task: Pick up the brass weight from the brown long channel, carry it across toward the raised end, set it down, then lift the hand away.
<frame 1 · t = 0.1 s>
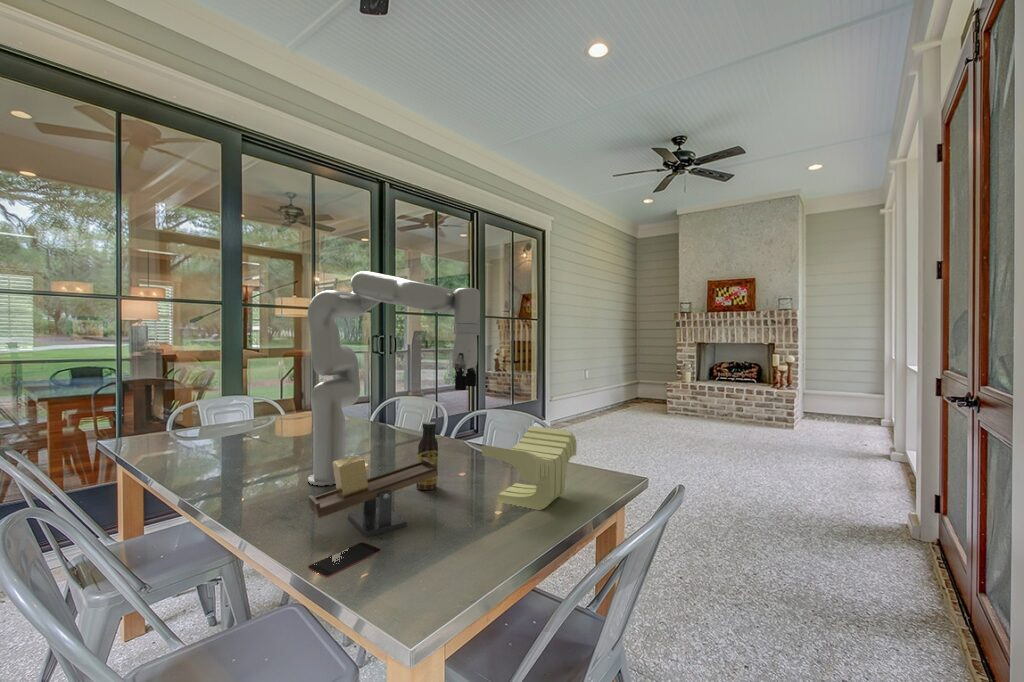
hand: (465, 388, 136), 31 cm above the table, tool pointing down, fingers open, 9 cm apart
brass weight: (352, 492, 111), point 9 cm above the table, tilted 8°, touching brown long channel
slatted curved stool: (531, 500, 132), on the table
brown long channel: (376, 485, 114), point 9 cm above the table, hinge at 8.4°, touching brass weight
smartphone: (346, 561, 96), on the table
sauce bottle: (426, 488, 141), on the table
beam stand: (376, 522, 115), on the table
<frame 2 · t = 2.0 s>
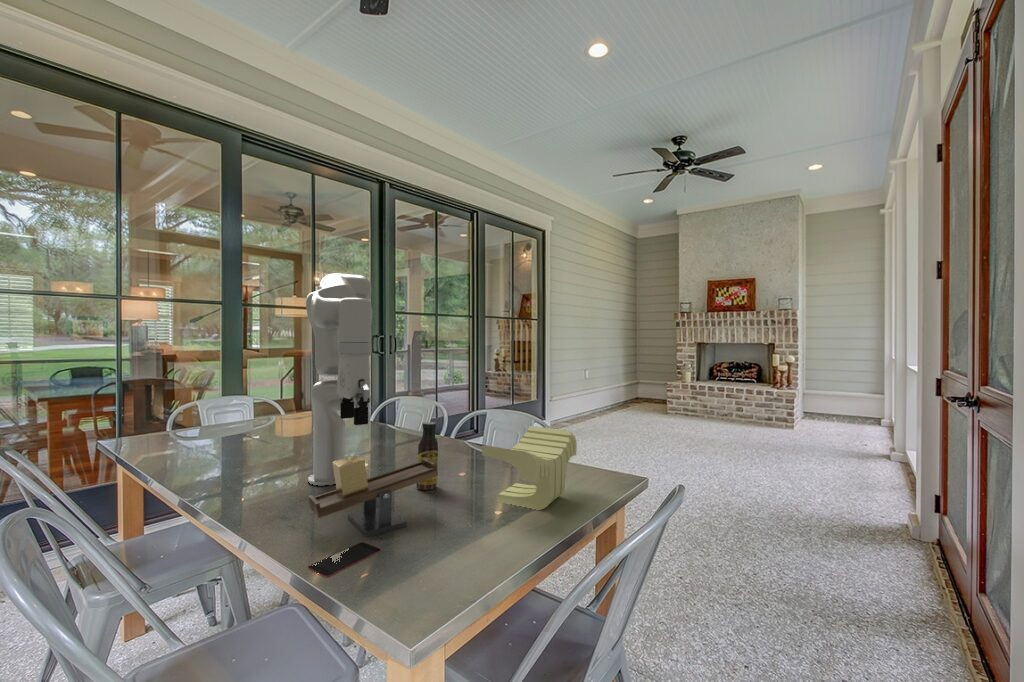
hand: (353, 421, 111), 26 cm above the table, tool pointing down, fingers open, 9 cm apart
nothing on the table moved.
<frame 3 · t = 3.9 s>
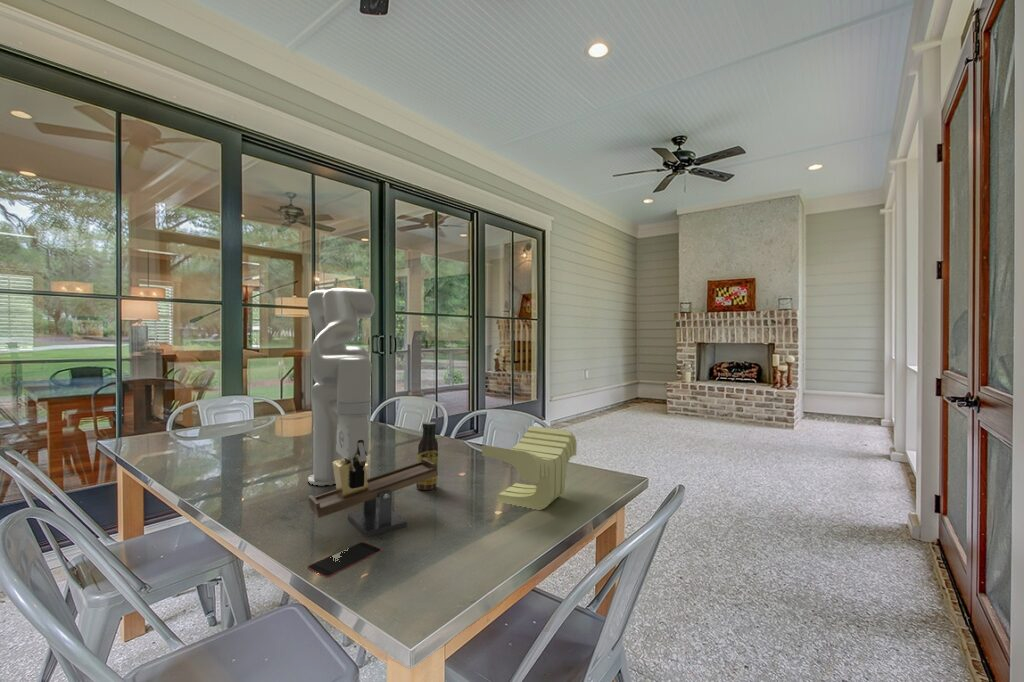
hand: (352, 483, 111), 11 cm above the table, tool pointing down, fingers closed on brass weight, 5 cm apart
brass weight: (352, 492, 111), point 9 cm above the table, tilted 8°, touching brown long channel, gripper
everything else where it was.
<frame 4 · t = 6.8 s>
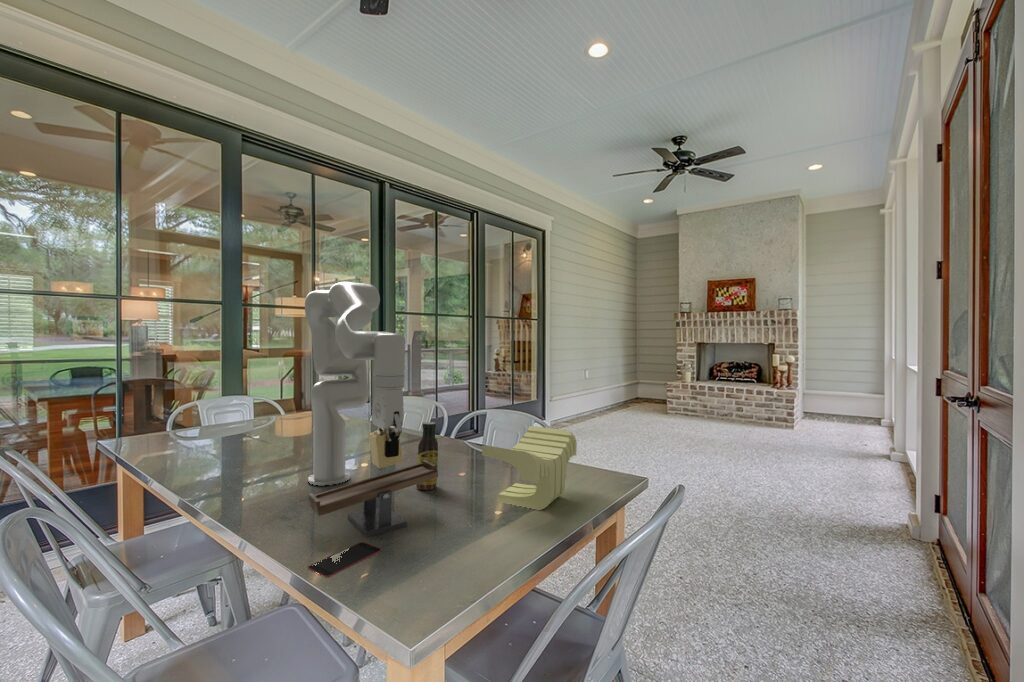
hand: (387, 453, 117), 17 cm above the table, tool pointing down, fingers closed on brass weight, 5 cm apart
brass weight: (387, 462, 117), point 14 cm above the table, tilted 8°, touching gripper
brown long channel: (376, 485, 115), point 9 cm above the table, hinge at 6.6°
everything else where it was.
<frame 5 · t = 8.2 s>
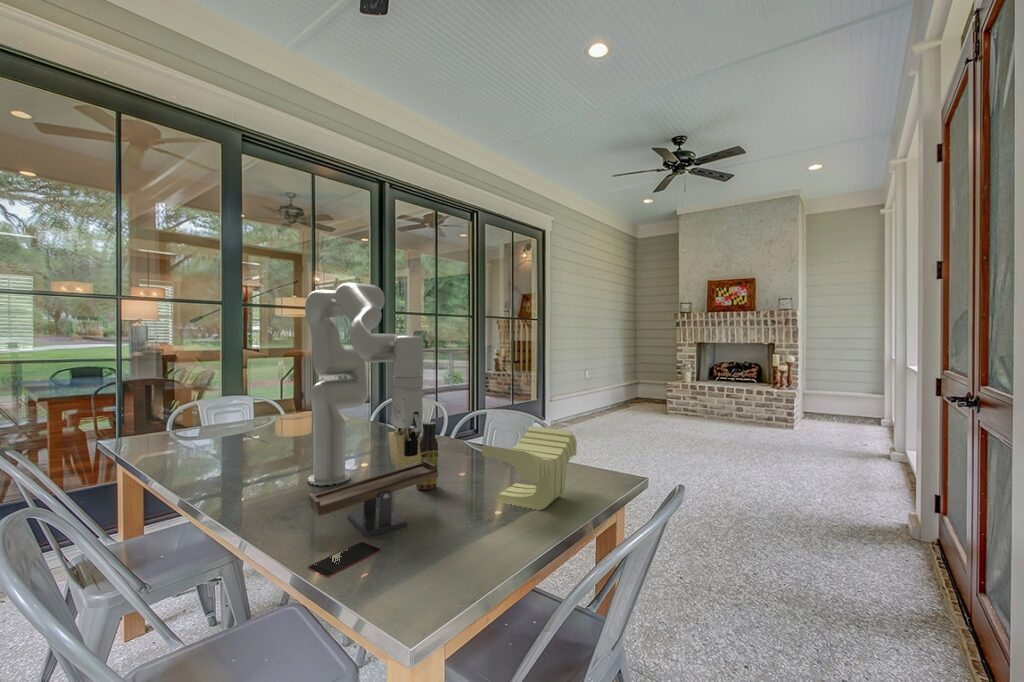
hand: (406, 452, 120), 16 cm above the table, tool pointing down, fingers closed on brass weight, 5 cm apart
brass weight: (406, 461, 120), point 14 cm above the table, tilted 8°, touching gripper
everything else where it was.
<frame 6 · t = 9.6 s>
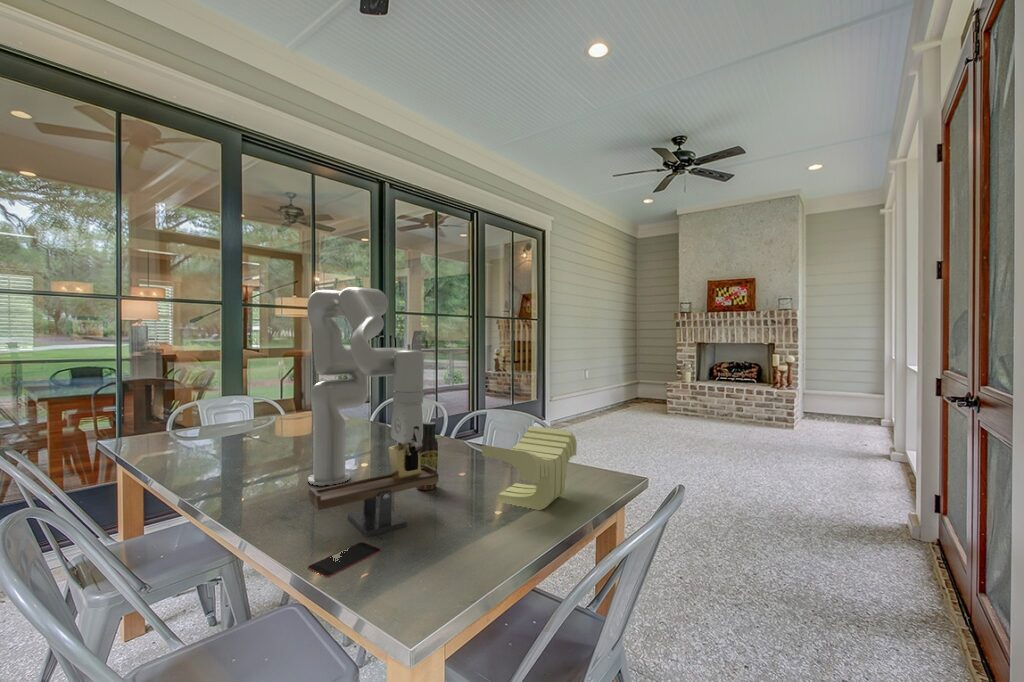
hand: (406, 466, 120), 13 cm above the table, tool pointing down, fingers closed on brass weight, 5 cm apart
brass weight: (406, 475, 120), point 10 cm above the table, tilted 8°, touching brown long channel, gripper
brown long channel: (376, 485, 115), point 9 cm above the table, hinge at 1.6°, touching brass weight
everything else where it was.
when the fingers open (13 cm above the table, at t = 9.8 s): brass weight stays where it is, resting on brown long channel.
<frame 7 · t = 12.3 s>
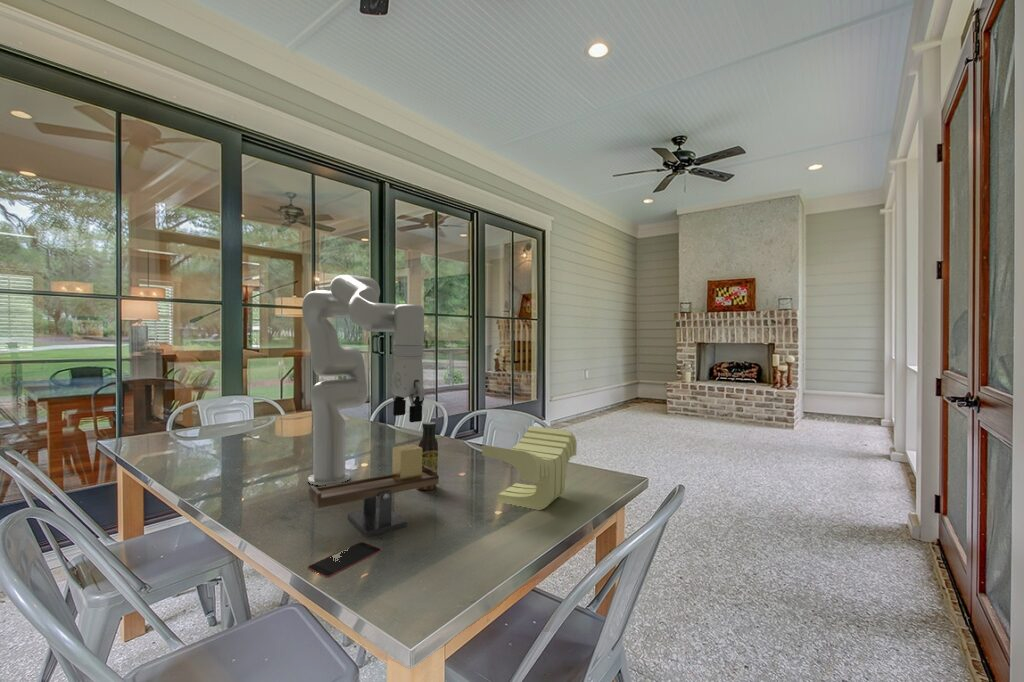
hand: (407, 418, 119), 25 cm above the table, tool pointing down, fingers open, 9 cm apart
brass weight: (406, 478, 120), point 9 cm above the table, touching brown long channel
brown long channel: (377, 485, 115), point 9 cm above the table, hinge at -0.4°, touching brass weight
everything else where it was.
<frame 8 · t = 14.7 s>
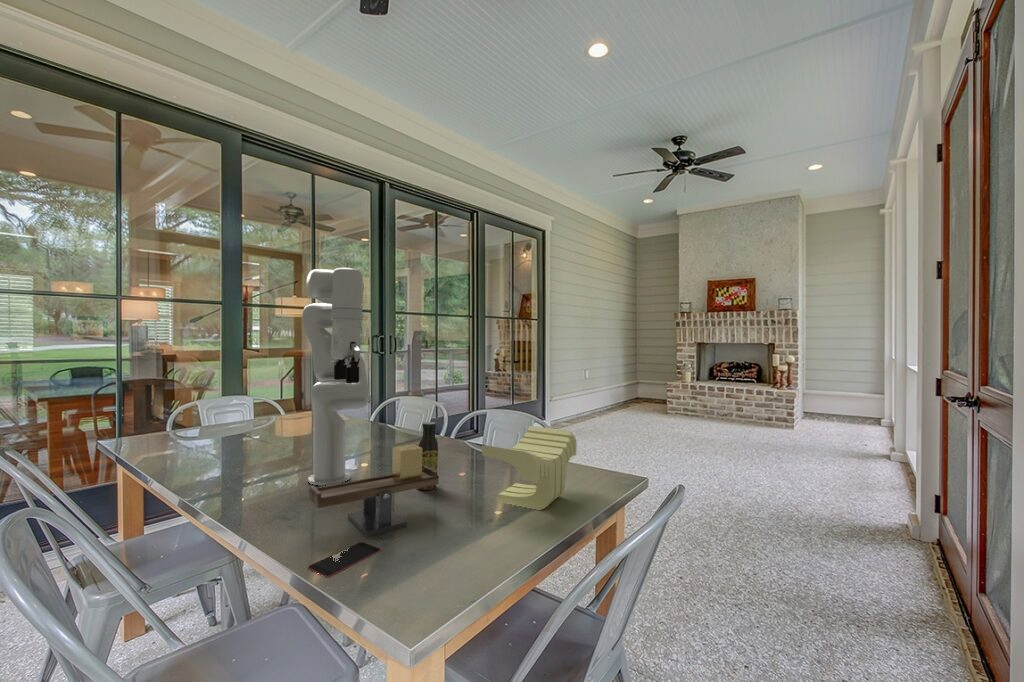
hand: (346, 381, 121), 34 cm above the table, tool pointing down, fingers open, 9 cm apart
nothing on the table moved.
at the end: brown long channel at +0° (first picture: +8°); brass weight inside the target area (0.6 cm from its centre), point 9.4 cm above the table; brass weight tilted 0° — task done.
